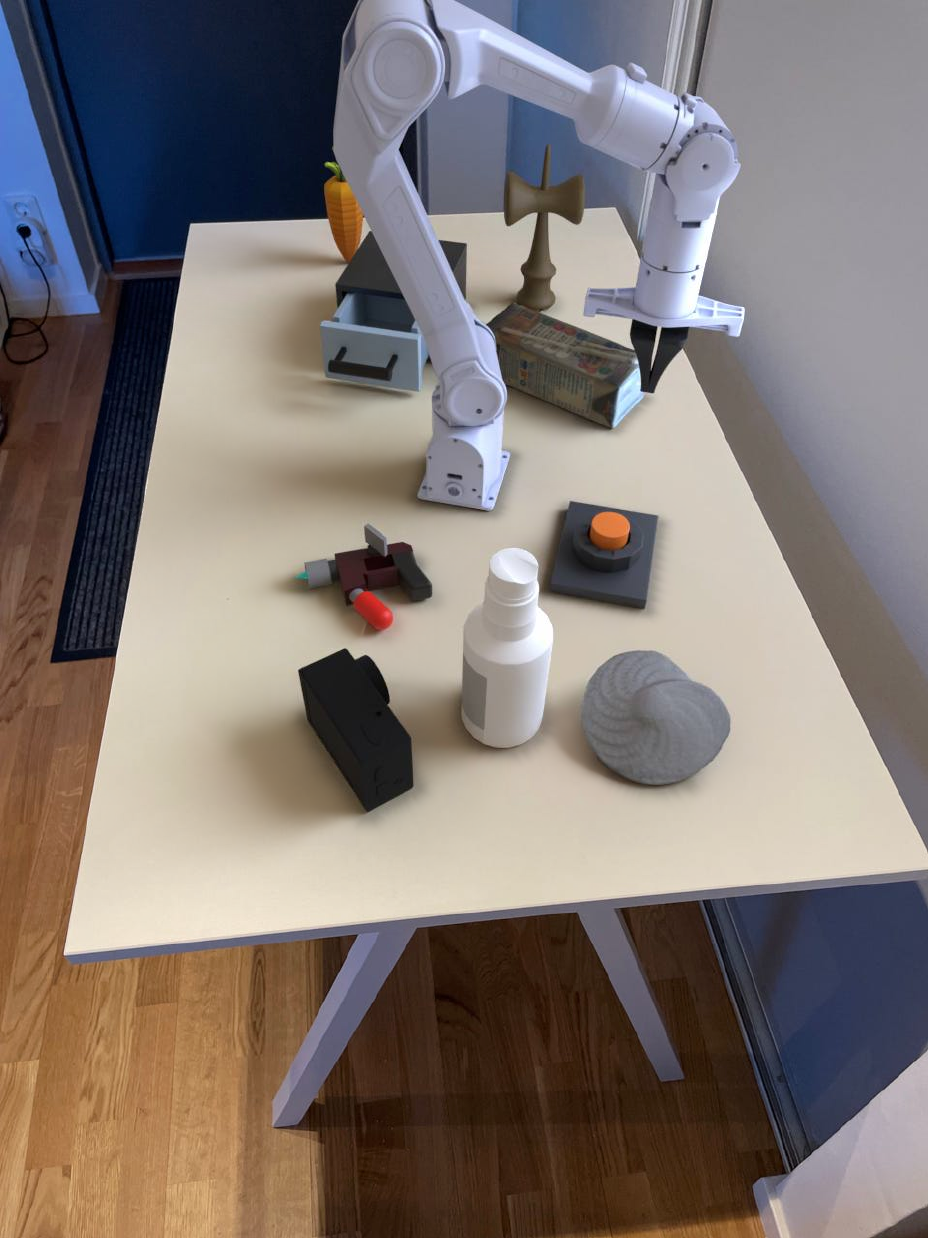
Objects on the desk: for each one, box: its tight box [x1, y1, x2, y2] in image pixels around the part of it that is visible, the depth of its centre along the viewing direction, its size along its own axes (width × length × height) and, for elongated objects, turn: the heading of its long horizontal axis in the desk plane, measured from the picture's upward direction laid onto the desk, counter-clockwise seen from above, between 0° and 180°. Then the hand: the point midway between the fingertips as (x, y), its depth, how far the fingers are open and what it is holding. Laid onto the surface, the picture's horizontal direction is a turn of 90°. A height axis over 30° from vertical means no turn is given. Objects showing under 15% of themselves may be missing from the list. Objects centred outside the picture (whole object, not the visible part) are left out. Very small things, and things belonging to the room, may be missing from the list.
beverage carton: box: [484, 302, 645, 429], centre depth 106 cm, size 8×19×7 cm, turn 55°
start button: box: [590, 512, 630, 550], centre depth 87 cm, size 4×4×2 cm
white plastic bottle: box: [461, 547, 554, 749], centre depth 70 cm, size 7×7×18 cm
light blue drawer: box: [319, 292, 429, 393], centre depth 107 cm, size 17×11×7 cm
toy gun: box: [295, 523, 433, 631], centre depth 84 cm, size 10×12×5 cm
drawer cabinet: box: [334, 230, 468, 363], centre depth 113 cm, size 14×13×9 cm
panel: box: [549, 500, 659, 610], centre depth 89 cm, size 12×9×3 cm
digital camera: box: [297, 647, 415, 814], centre depth 72 cm, size 10×5×7 cm, turn 33°
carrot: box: [323, 146, 364, 264], centre depth 122 cm, size 5×5×15 cm
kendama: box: [503, 143, 586, 311], centre depth 114 cm, size 6×10×20 cm, turn 91°
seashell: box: [580, 649, 732, 786], centre depth 74 cm, size 12×6×10 cm
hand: (647, 386), depth 92 cm, fingers closed
